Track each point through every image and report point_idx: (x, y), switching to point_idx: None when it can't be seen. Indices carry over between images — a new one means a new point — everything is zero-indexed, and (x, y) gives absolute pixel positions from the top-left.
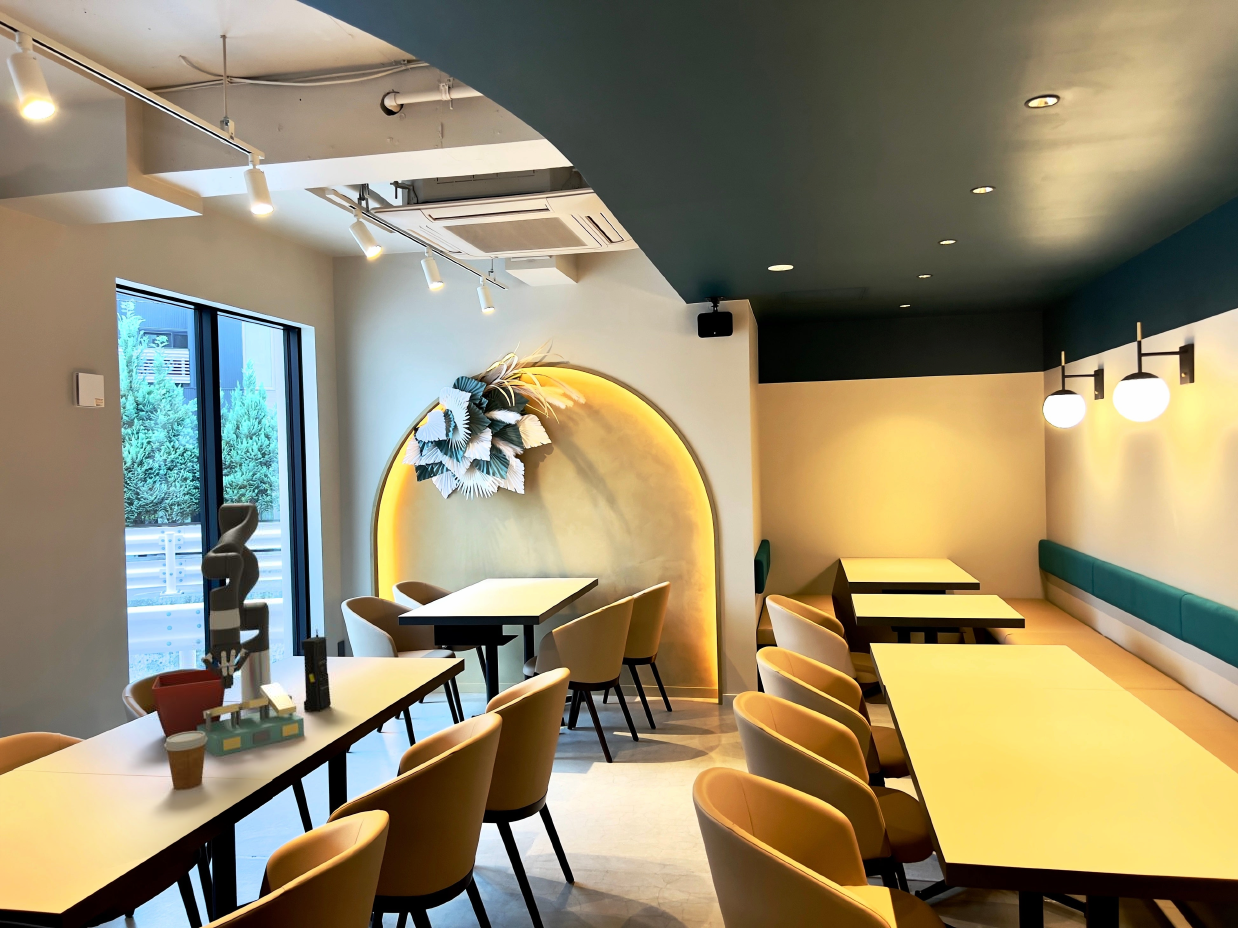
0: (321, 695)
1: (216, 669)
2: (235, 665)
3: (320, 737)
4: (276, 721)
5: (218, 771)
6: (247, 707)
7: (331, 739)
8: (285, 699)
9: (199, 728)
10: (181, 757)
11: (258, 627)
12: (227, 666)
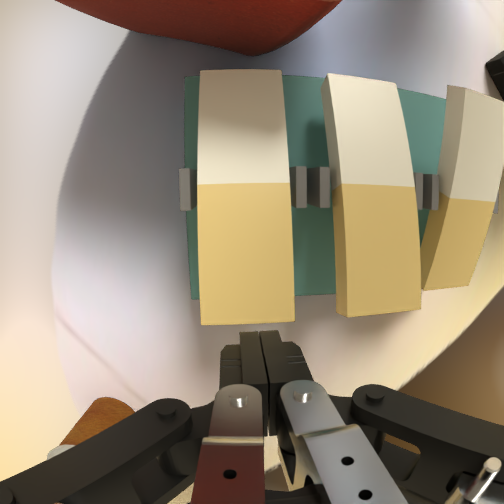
0: None
1: (165, 489)
2: (380, 423)
3: (436, 316)
4: None
5: (176, 393)
6: (337, 280)
7: (437, 346)
8: (473, 235)
9: (185, 106)
10: None
11: None
12: (297, 442)
